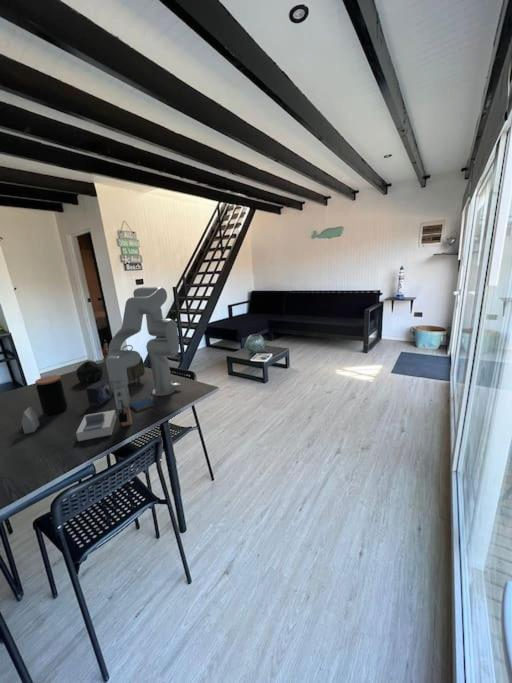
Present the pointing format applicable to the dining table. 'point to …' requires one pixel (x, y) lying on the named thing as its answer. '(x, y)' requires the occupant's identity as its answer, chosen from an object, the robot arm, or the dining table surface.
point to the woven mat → (142, 404)
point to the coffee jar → (51, 395)
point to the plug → (129, 419)
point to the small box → (99, 393)
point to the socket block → (104, 431)
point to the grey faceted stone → (30, 420)
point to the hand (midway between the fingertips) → (124, 416)
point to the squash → (89, 372)
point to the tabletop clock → (135, 370)
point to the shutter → (94, 422)
